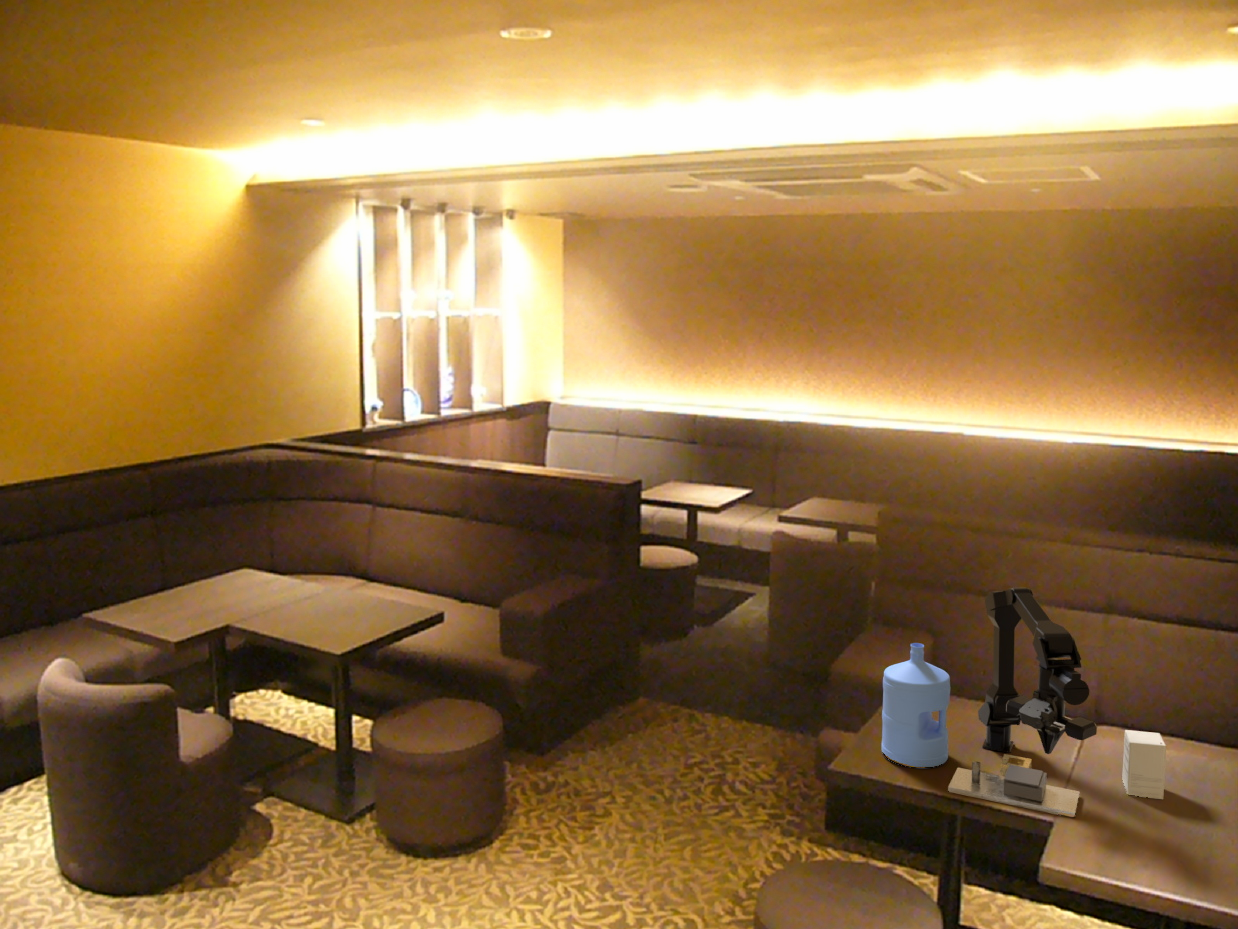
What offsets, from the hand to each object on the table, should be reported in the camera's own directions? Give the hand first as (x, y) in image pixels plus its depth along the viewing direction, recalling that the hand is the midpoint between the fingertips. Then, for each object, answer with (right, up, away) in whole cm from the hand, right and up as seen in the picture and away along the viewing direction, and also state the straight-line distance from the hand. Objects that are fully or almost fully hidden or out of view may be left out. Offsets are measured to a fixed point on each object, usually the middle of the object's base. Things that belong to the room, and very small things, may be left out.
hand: (1048, 753), depth 219 cm
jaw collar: (-3, -8, +11) cm, 14 cm away
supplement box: (+22, -9, +2) cm, 24 cm away
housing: (-5, -8, 0) cm, 10 cm away
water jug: (-23, -7, +21) cm, 32 cm away
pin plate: (-7, -9, +1) cm, 12 cm away
